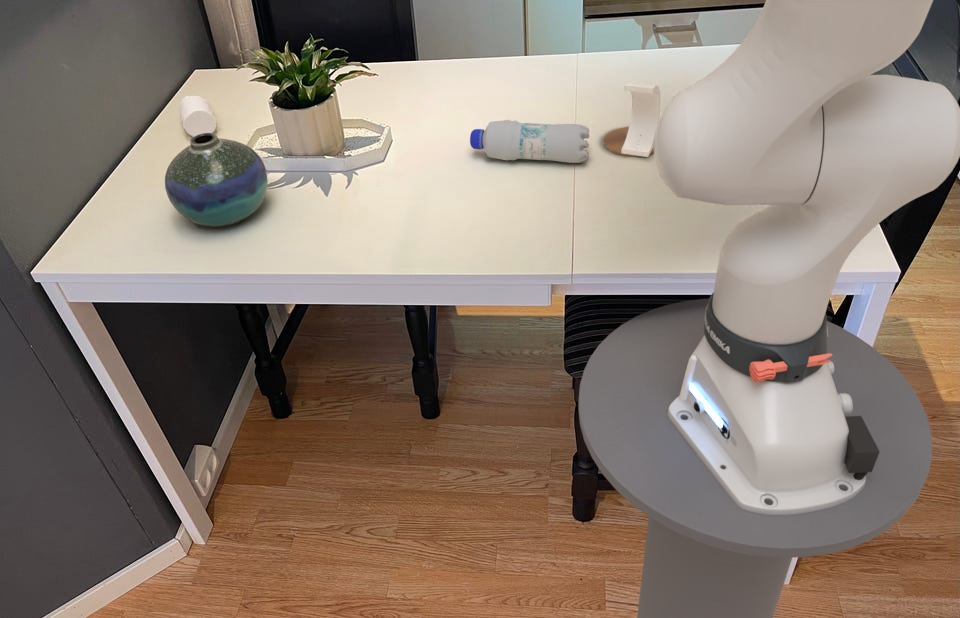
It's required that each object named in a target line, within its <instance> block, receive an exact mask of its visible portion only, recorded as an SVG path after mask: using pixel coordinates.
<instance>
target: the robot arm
mask: <svg viewBox="0 0 960 618" xmlns="http://www.w3.org/2000/svg"><path fill="white" fill-rule="evenodd" d="M933 2H934V0H765V2H764V5H763V7H762V10H761V12H760V14H759V17H757V20H756V21H755V24H754V25H753V26H752V28H751V29H750V31H749V32H748V34H747V35H746V36H745V38H744V39H743V40H742V42H741V43H740V44H739V46H738V47H736V49H735V50H734V51H733V52H732V53H731V54H730V56H728V57H727V58H726V59H725V60H724V61H723V62H722V63H721V64H720V65H718V66H717V67H716V68H715V69H714V70H713V71H712V72H710V73H708V75H706V76H705V77H703V78H702V79H700V80H698V81H697V82H695V83H694V84H692V85H690V86H688V87H686V88H684V89H682V90H680V91H678V93H676V94H675V95H674V96H673V97H672V98H671V100H670V101H668V103H667V105H666V106H665V108H664V109H663V111H662V112H661V115H659V120H658V124H657V127H656V131H655V136H654V153H653V157H654V162H655V167H656V168H657V171H658V174H659V177H661V179H662V181H663V182H664V184H665V185H666V187H667V189H669V190H670V191H671V193H672V194H674V195H675V196H676V197H677V198H680V199H681V198H682V199H687V200H692V201H695V202H702V203H709V204H714V205H721V206H767V207H766V208H764V209H762V210H760V211H757V212H756V213H753V214H752V215H750V216H748V217H746V218H745V219H742V220H741V221H740V222H738V224H737V225H735V226H734V227H733V229H732V230H730V232H729V233H728V235H727V236H726V237H725V239H724V241H723V243H722V244H721V247H720V250H719V257H718V263H717V270H716V274H715V281H714V288H713V292H712V293H711V294H710V297H709V298H708V299H709V302H708V305H707V307H706V311H705V318H704V321H705V323H704V336H703V338H702V340H701V341H700V343H699V345H698V346H697V348H696V349H695V351H694V352H693V353H692V355H691V357H690V358H689V361H688V365H687V369H686V373H685V376H684V380H683V384H682V388H681V392H680V395H679V396H678V397H677V398H676V399H675V400H674V401H673V402H672V403H671V404H670V406H669V409H668V412H667V416H668V418H669V419H670V421H671V422H672V423H673V424H674V426H675V427H676V428H677V430H678V431H679V432H680V433H681V435H682V436H683V437H684V439H685V440H686V441H687V442H688V444H689V445H690V446H691V448H692V449H693V450H694V451H695V453H696V454H697V455H698V456H699V458H700V459H701V460H702V462H703V463H704V464H705V465H706V467H707V468H708V469H709V471H710V472H711V473H712V474H713V476H714V477H715V478H716V479H717V481H718V482H719V483H720V485H721V486H722V487H723V488H724V490H725V491H726V492H727V494H728V495H729V496H730V497H731V499H732V500H733V501H734V502H735V504H736V505H737V506H738V507H739V508H741V509H743V510H746V511H749V512H753V513H757V514H764V515H796V514H803V513H810V512H815V511H819V510H824V509H828V508H831V507H834V506H837V505H840V504H842V503H844V502H847V501H848V500H850V499H852V498H853V497H855V496H856V495H857V494H859V493H860V491H861V490H862V489H863V488H864V486H865V482H866V477H865V475H866V474H867V473H868V472H872V470H873V468H874V465H875V463H876V460H877V458H878V455H879V452H880V451H879V449H878V447H877V445H876V444H875V442H874V440H873V438H872V436H871V434H870V432H869V430H868V428H867V426H866V424H865V422H864V420H863V418H862V416H846V417H845V415H849V414H851V413H852V410H853V403H852V399H851V397H850V395H849V394H847V393H840V394H838V393H837V390H836V387H835V384H834V381H833V378H832V375H831V374H833V373H834V364H833V362H831V361H830V360H826V359H827V358H829V357H831V356H832V353H828V354H827V337H828V327H827V321H828V318H827V317H828V316H827V313H826V312H827V308H828V305H829V302H830V299H831V296H832V293H833V290H834V287H835V286H836V285H835V284H836V282H837V280H838V277H839V274H840V273H841V270H842V268H843V266H844V264H845V262H846V260H847V259H848V258H849V256H850V255H851V253H852V252H853V251H854V249H855V248H856V247H857V246H858V245H859V244H860V243H861V242H862V240H864V238H865V237H866V236H867V235H868V234H870V233H871V232H872V231H873V229H874V228H876V227H877V226H878V225H879V224H880V223H881V222H882V221H884V220H885V219H887V218H888V217H889V216H890V215H892V214H893V213H894V212H896V211H897V210H899V209H900V208H902V207H903V206H906V205H907V204H909V203H910V202H911V201H914V200H915V199H918V198H920V197H922V196H924V195H926V194H928V193H930V192H933V191H935V190H936V189H938V188H939V186H940V185H941V184H943V183H944V182H945V181H946V179H948V177H949V176H950V175H951V173H952V172H953V170H954V168H955V167H956V165H957V164H958V162H959V159H960V105H959V103H958V102H957V100H956V98H955V97H954V95H953V94H952V92H951V91H950V90H949V89H948V88H947V87H946V86H945V85H943V84H941V83H939V82H934V81H928V80H923V79H917V78H911V77H905V76H900V75H899V76H898V75H891V74H875V73H877V72H879V71H881V70H883V69H885V68H886V67H887V66H889V65H891V64H892V63H893V62H895V61H896V60H897V59H899V58H900V57H901V56H902V55H903V54H904V53H905V52H906V51H907V50H908V49H909V48H910V47H911V46H912V44H913V43H914V42H915V40H916V39H917V38H918V36H919V35H920V33H921V31H922V28H923V26H924V24H925V21H926V19H927V17H928V14H929V12H930V9H931V7H932V4H933ZM682 419H686V420H682ZM841 489H844V490H845V491H842V490H841ZM765 503H770V504H771V505H767V504H765Z"/></svg>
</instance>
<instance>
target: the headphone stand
mask: <svg viewBox="0 0 960 618" xmlns="http://www.w3.org/2000/svg"><path fill="white" fill-rule="evenodd" d="M624 91H627V92H630V94H631V112H630V120H629V125H628V127H629V130H628V134H627V137H626V140H625V143H624V145H623V147H622V151H621V153H623V154H630V155H637V156H636V157H644V158H649V157H650V156H651V154H650V153H651V151H652V149H653V147H654V136H655V131H656V127H657V124H658V121H659V119H660V112H661V89H660V87H659V85H654V84H645V83H638V82H626V83H625V85H624Z"/></svg>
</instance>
